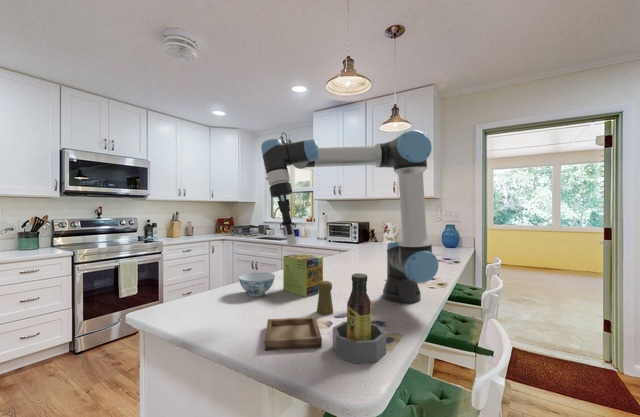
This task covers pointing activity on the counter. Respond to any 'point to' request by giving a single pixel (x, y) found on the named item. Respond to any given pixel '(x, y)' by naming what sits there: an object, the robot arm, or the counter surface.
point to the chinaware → (256, 282)
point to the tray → (292, 334)
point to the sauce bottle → (359, 310)
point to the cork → (324, 298)
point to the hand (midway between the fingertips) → (292, 244)
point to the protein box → (302, 274)
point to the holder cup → (359, 345)
